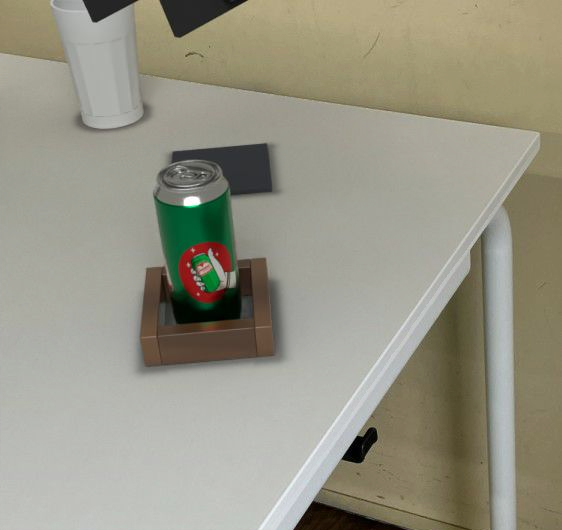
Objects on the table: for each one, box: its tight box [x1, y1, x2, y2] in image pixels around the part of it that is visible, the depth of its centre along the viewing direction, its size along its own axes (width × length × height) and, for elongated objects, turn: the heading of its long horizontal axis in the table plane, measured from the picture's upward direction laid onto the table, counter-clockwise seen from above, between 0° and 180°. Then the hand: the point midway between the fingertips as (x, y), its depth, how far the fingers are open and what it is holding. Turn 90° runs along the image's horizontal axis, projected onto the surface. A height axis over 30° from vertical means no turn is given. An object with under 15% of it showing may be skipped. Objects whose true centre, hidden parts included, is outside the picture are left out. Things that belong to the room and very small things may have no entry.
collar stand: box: [139, 256, 276, 367], centre depth 72 cm, size 9×9×2 cm
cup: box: [49, 0, 145, 130], centre depth 100 cm, size 8×8×12 cm
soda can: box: [152, 160, 245, 325], centre depth 69 cm, size 5×5×12 cm
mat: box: [171, 142, 273, 196], centre depth 92 cm, size 9×9×1 cm
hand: (122, 9), depth 63 cm, fingers open, 13 cm apart
